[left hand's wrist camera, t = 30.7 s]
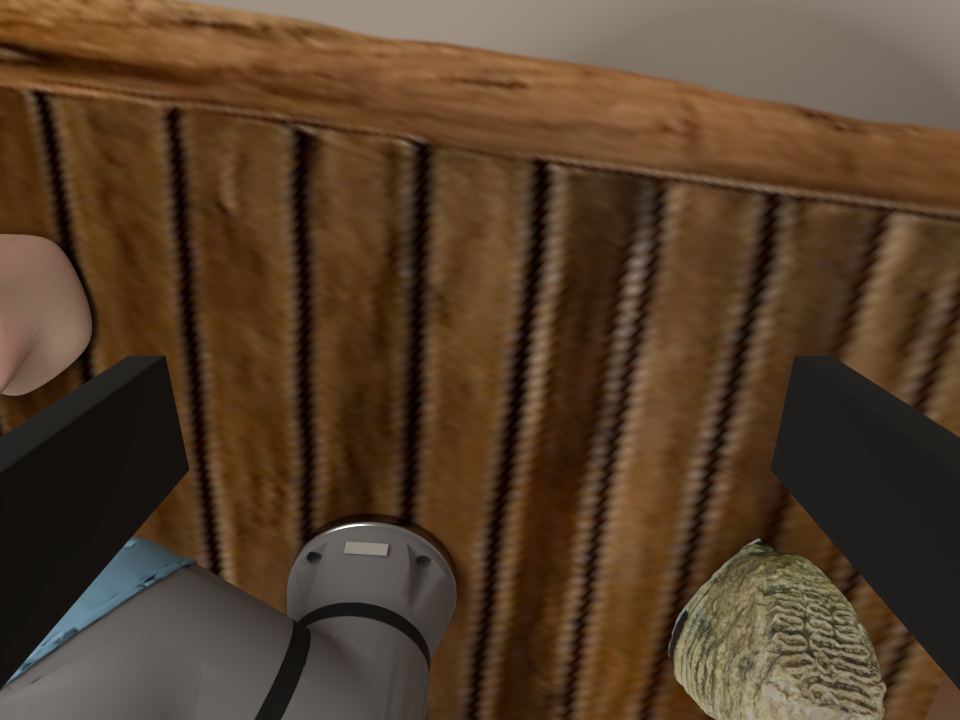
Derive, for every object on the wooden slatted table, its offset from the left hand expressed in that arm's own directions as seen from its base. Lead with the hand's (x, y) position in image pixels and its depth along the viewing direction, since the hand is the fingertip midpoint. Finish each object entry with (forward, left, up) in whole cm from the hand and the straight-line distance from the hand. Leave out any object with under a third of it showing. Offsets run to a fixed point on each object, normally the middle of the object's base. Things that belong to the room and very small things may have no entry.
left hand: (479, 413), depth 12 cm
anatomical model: (-9, +35, -32) cm, 49 cm away
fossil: (-35, -25, -32) cm, 53 cm away
